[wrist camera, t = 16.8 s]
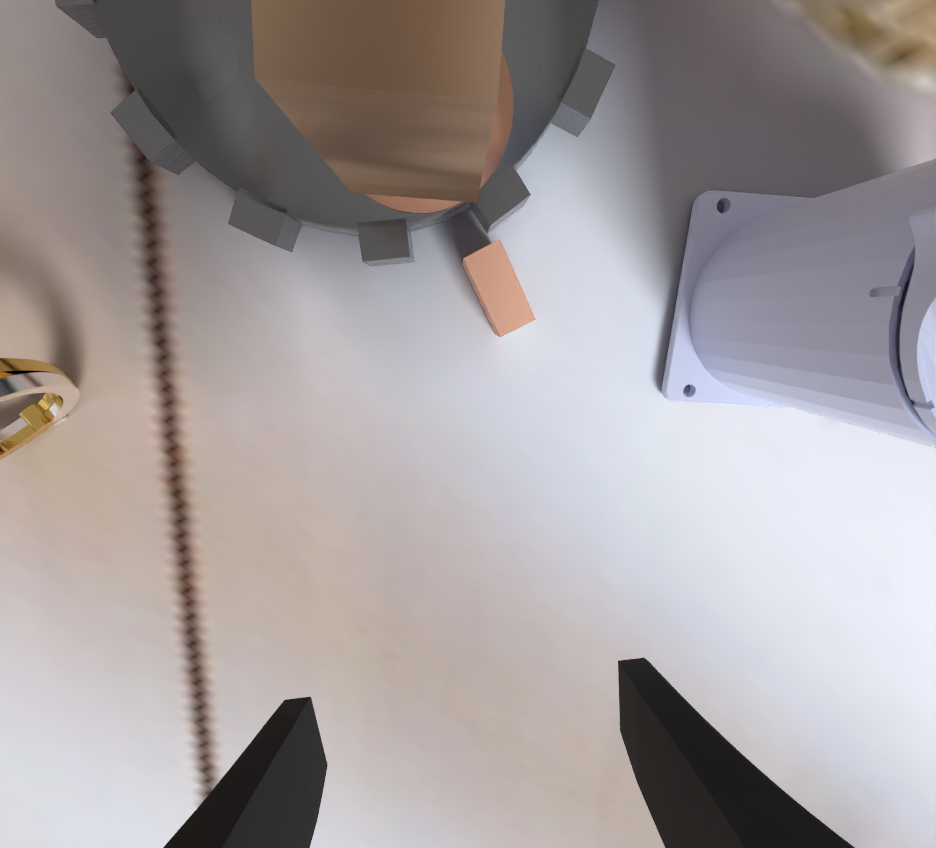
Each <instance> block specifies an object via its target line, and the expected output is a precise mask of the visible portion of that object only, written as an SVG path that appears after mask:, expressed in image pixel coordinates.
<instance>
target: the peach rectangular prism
mask: <svg viewBox="0 0 936 848" xmlns="http://www.w3.org/2000/svg"><path fill="white" fill-rule="evenodd" d="M462 265H463V267H464V269H465V271H466V273H467V276H468V278H469V280H470V282H471V284H472V286H473V288H474V290H475V292H476V295H477V297H478V299H479V301H480V303H481V305H482V307H483V309H484V311H485V314H486V316H487V318H488V320H489V322H490V324H491V326H492V328H493V330H494V333H495V335H497V336H499V337H502V336H504V335H506V334H508V333H510V332H512V331H514V330H516V329H517V328H519V327H521V326H523V325H525V324H527V323H529V322H531V321H533V320H535V317H534V315H533V312H532V310H531V308H530V306H529V303H528V301H527V299H526V297H525V294H524V292H523V290H522V288H521V286H520V283H519V281H518V279H517V277H516V274H515V272H514V270H513V268H512V265H511V263H510V261H509V259H508V256H507V254H506V252H505V250H504V247H503V245H502V243H501V241H500V239H499V240H497V241H495V242H493V243H491V244H490V245H488V246H486V247H484V248H482V249H480V250H478V251H476V252H474V253H472V254H471V255H469V256H467V257H465V258H463V264H462Z"/></svg>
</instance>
